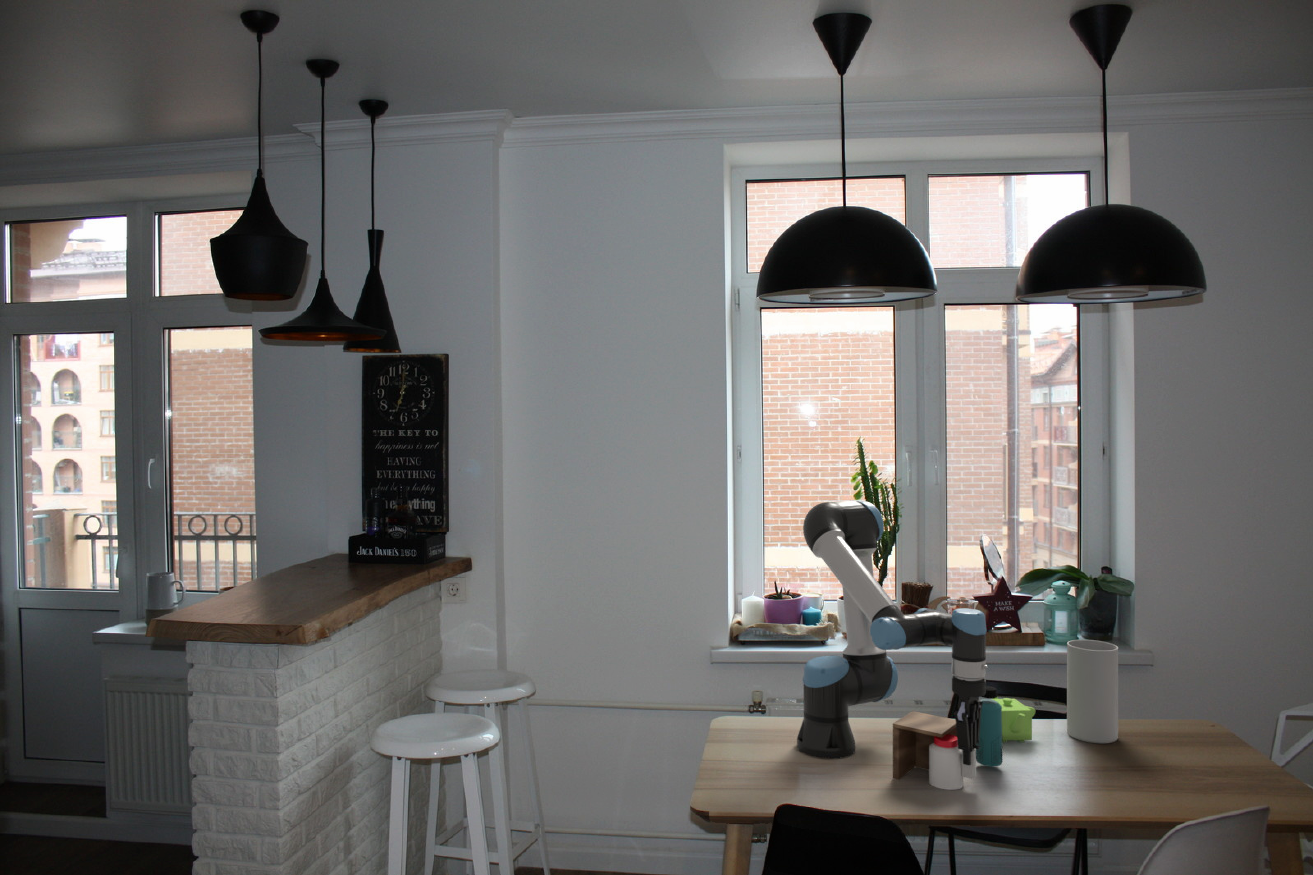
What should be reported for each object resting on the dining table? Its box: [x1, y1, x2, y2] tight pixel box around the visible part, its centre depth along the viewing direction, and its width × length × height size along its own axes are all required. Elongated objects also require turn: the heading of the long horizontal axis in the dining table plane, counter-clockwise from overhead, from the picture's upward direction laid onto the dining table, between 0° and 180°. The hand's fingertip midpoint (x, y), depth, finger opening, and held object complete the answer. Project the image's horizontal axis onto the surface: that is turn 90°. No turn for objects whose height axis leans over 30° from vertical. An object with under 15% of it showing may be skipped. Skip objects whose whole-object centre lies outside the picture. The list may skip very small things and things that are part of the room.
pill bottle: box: [928, 734, 964, 791], centre depth 211 cm, size 8×8×11 cm
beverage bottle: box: [975, 685, 1004, 767], centre depth 220 cm, size 6×7×20 cm
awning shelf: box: [892, 710, 957, 781], centre depth 215 cm, size 12×12×13 cm
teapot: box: [990, 696, 1036, 743], centre depth 242 cm, size 15×13×11 cm
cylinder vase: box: [1066, 639, 1119, 744], centre depth 242 cm, size 12×12×25 cm
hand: (968, 776), depth 208 cm, fingers closed
